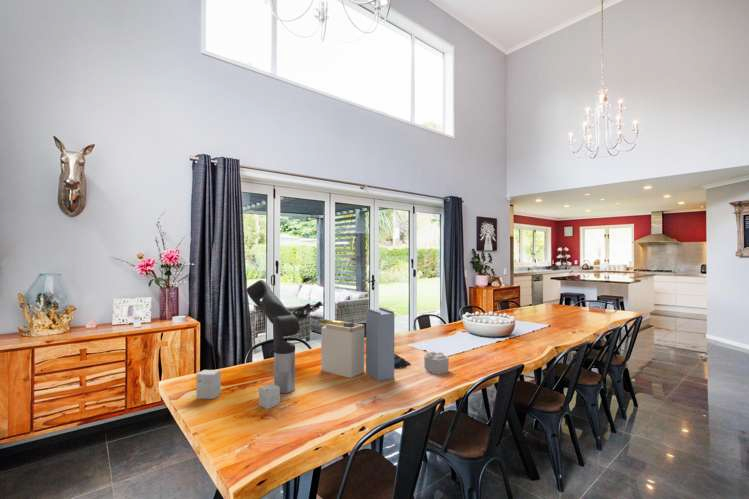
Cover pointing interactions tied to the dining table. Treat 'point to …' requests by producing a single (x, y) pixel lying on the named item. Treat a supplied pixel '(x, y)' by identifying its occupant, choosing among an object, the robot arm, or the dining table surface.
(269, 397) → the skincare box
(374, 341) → the post
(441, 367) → the lumpy-topped squat cylinder
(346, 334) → the upright beige carton
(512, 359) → the dining table surface
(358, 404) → the dining table surface
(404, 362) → the dark slate chunk
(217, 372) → the small box
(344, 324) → the pin
